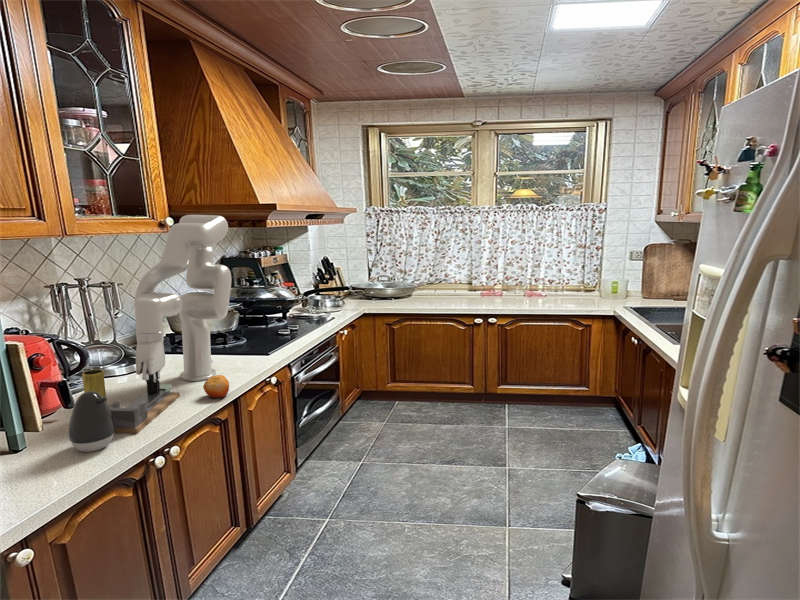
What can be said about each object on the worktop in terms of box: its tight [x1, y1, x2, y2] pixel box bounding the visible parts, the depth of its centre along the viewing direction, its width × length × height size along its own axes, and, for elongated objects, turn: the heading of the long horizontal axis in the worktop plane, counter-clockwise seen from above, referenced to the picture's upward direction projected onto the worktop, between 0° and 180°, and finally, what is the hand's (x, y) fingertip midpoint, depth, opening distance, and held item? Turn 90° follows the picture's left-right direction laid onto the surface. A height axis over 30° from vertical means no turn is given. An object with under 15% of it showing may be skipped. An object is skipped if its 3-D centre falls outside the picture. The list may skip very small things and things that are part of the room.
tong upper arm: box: [124, 383, 172, 408], centre depth 150 cm, size 23×6×2 cm, turn 1°
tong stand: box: [108, 389, 181, 435], centre depth 148 cm, size 28×10×6 cm, turn 1°
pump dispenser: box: [68, 391, 115, 453], centre depth 126 cm, size 10×10×15 cm
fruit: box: [203, 374, 230, 399], centre depth 164 cm, size 8×8×8 cm
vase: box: [81, 368, 108, 404], centre depth 143 cm, size 6×6×14 cm
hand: (153, 392), depth 155 cm, fingers closed
